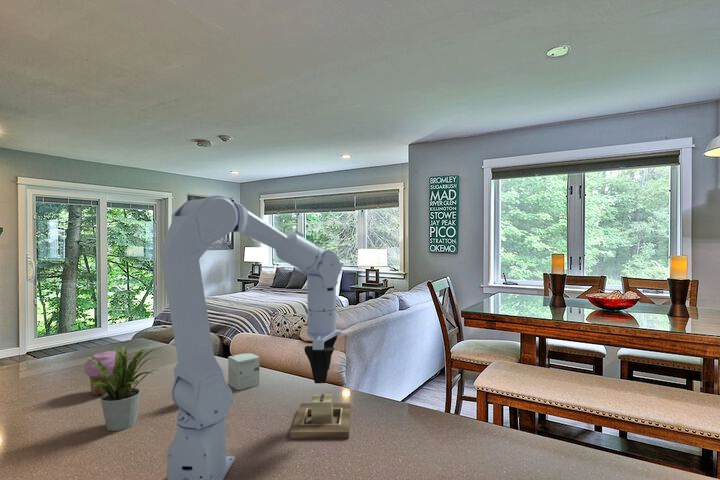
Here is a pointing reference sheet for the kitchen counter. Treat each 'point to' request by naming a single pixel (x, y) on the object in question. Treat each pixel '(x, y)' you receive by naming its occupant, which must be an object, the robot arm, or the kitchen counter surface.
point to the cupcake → (91, 371)
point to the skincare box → (243, 371)
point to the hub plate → (321, 430)
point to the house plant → (121, 390)
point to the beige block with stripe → (322, 409)
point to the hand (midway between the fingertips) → (322, 376)
